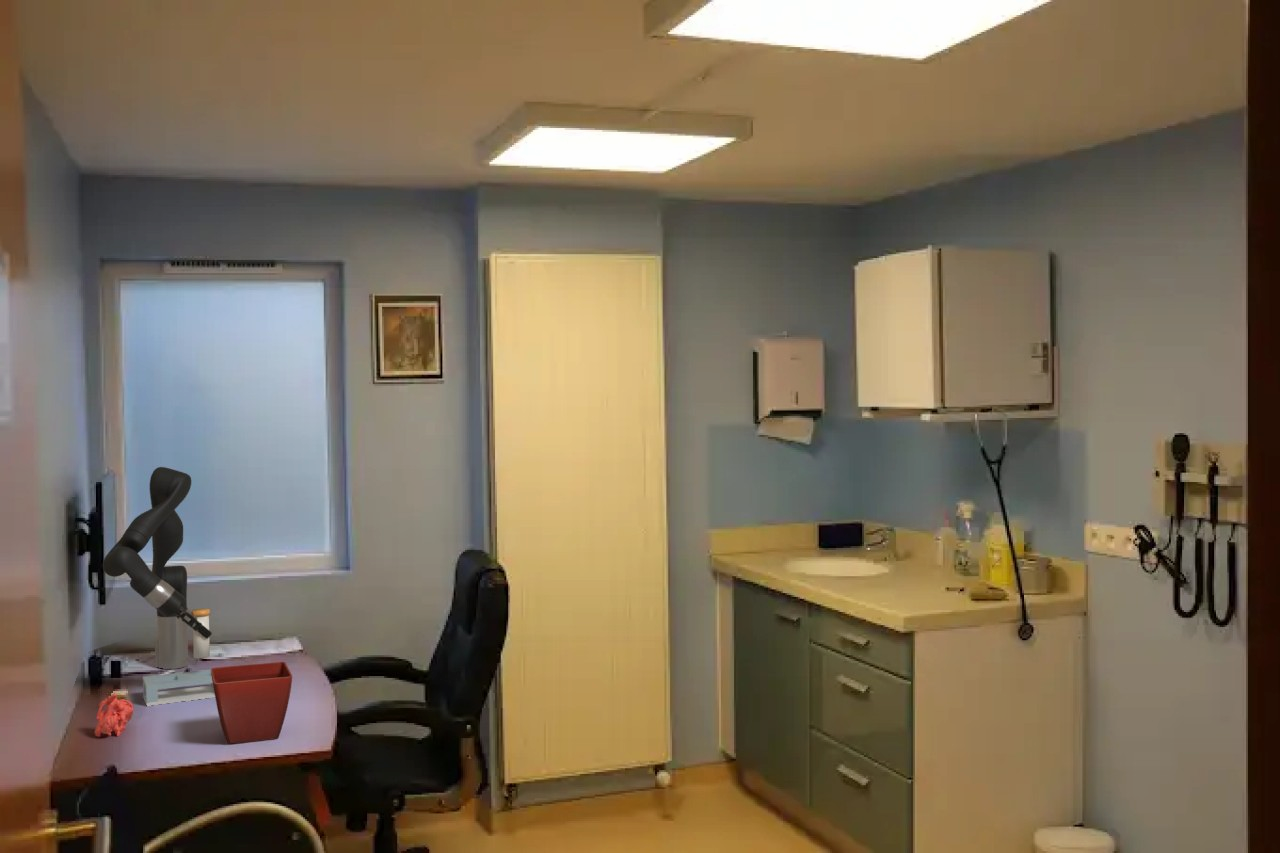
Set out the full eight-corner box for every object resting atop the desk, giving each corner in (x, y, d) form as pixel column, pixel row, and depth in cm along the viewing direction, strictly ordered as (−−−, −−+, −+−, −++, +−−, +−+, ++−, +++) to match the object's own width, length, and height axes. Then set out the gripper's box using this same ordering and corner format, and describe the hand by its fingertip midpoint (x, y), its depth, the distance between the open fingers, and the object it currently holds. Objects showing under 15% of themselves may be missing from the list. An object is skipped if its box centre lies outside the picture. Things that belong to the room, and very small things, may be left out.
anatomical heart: (129, 732, 312) (140, 689, 312) (122, 745, 300) (134, 701, 301) (94, 726, 309) (106, 684, 310) (86, 739, 298) (98, 695, 298)
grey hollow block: (146, 706, 332) (146, 685, 332) (143, 696, 342) (142, 676, 342) (227, 696, 342) (226, 676, 342) (221, 687, 353) (220, 668, 353)
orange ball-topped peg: (189, 658, 342) (188, 611, 342) (199, 654, 347) (198, 608, 347) (204, 658, 341) (203, 611, 341) (214, 655, 346) (213, 608, 346)
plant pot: (286, 721, 315) (285, 660, 314) (294, 740, 297) (292, 675, 297) (211, 730, 308) (210, 667, 307) (215, 750, 290) (213, 683, 289)
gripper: (176, 591, 334) (221, 628, 340) (170, 584, 346) (214, 620, 352) (156, 611, 332) (202, 648, 337) (152, 604, 344) (196, 639, 350)
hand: (208, 634), depth 345 cm, fingers closed on orange ball-topped peg, 4 cm apart
